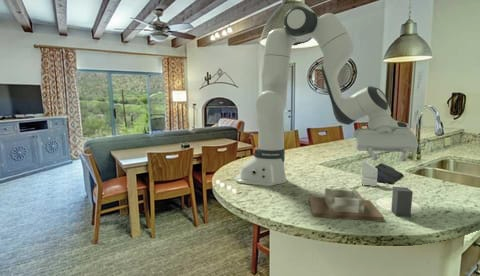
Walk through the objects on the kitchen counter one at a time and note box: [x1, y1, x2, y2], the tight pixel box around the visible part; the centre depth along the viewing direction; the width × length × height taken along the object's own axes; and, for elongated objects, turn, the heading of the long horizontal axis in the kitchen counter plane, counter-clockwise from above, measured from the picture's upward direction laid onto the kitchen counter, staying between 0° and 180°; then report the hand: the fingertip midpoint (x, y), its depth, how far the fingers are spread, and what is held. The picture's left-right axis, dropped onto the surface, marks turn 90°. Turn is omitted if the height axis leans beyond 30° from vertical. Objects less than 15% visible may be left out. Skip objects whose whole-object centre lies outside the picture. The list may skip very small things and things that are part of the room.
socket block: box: [308, 187, 385, 222], centre depth 88 cm, size 20×14×5 cm
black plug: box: [390, 186, 413, 218], centre depth 84 cm, size 4×4×8 cm
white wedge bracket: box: [360, 159, 378, 187], centre depth 114 cm, size 4×10×9 cm
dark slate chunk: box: [364, 163, 404, 185], centre depth 127 cm, size 15×22×5 cm
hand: (389, 160), depth 95 cm, fingers open, 8 cm apart
